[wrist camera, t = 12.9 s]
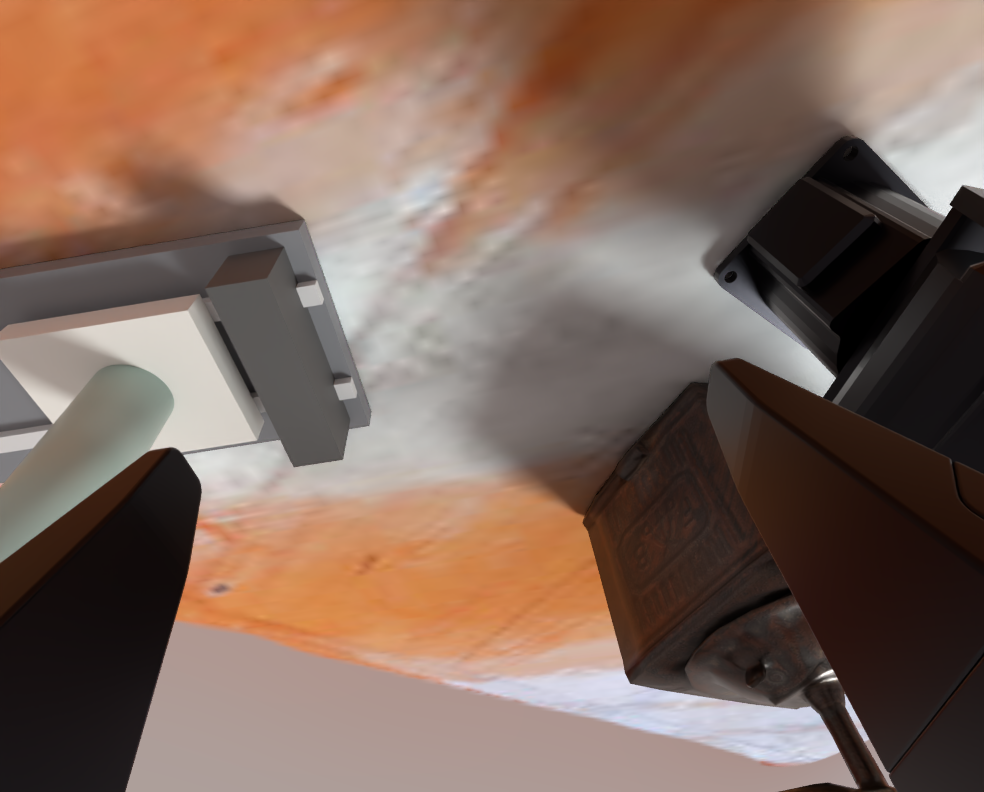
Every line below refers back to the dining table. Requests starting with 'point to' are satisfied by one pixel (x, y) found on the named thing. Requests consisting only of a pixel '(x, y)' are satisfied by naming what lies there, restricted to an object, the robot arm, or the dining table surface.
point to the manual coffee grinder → (708, 586)
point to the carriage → (116, 401)
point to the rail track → (237, 315)
